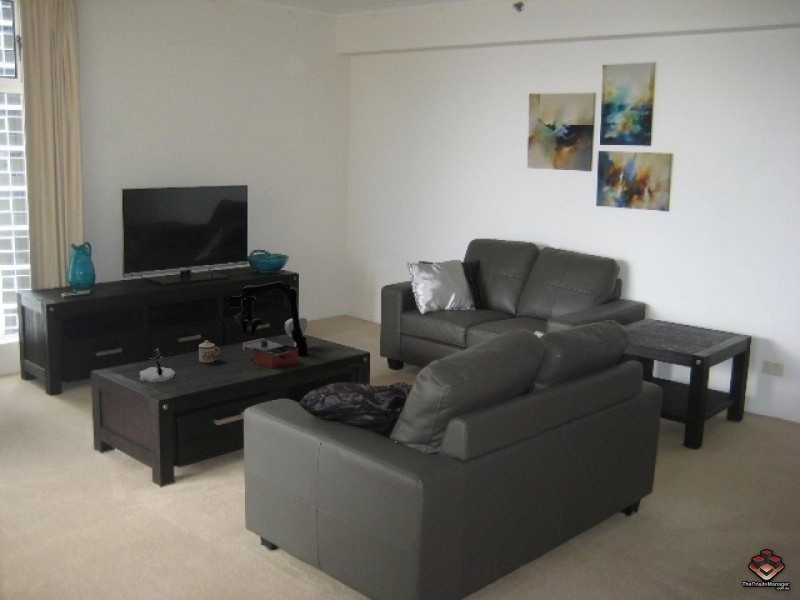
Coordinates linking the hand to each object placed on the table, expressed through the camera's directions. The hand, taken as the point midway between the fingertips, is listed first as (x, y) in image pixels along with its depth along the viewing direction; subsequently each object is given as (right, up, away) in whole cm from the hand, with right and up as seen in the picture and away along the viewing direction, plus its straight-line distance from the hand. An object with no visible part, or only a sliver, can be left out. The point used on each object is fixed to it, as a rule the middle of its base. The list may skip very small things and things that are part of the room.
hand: (248, 334), depth 503 cm
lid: (+10, -9, -8) cm, 15 cm away
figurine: (-41, -21, -44) cm, 63 cm away
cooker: (+19, -16, -14) cm, 28 cm away
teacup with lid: (-20, -15, -12) cm, 27 cm away
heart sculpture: (+25, -9, +20) cm, 33 cm away
